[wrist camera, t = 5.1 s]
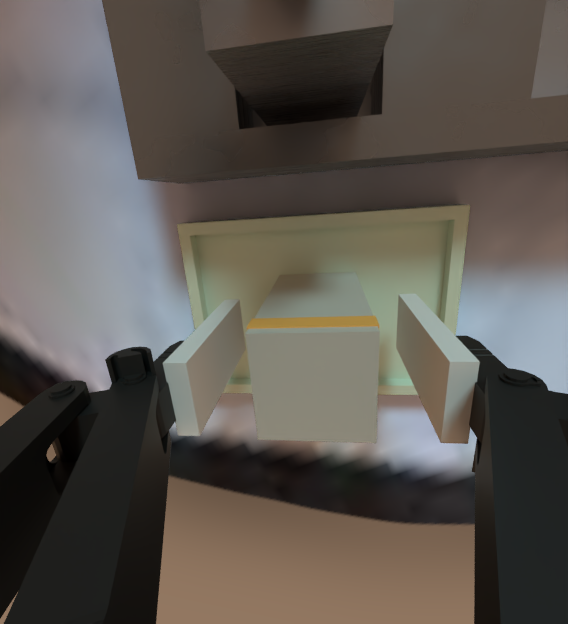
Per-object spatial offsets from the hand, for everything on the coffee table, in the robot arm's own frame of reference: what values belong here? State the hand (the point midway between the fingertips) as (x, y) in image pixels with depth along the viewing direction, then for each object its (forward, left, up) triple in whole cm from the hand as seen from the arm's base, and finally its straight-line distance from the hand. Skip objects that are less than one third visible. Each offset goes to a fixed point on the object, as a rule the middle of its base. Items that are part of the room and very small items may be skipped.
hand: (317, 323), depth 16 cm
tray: (0, 0, -3) cm, 3 cm away
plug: (0, 0, -2) cm, 2 cm away
